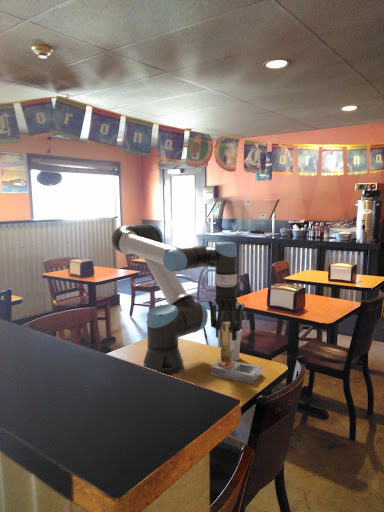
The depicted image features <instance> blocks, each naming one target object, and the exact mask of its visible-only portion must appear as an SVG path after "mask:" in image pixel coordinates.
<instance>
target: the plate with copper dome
mask: <svg viewBox="0 0 384 512" xmlns="http://www.w3.org/2000/svg"><path fill="white" fill-rule="evenodd" d="M210 375H212V376H215V377H220V378H224V379H228V380H232V381H236V382H241V383H246V384H250V385H253V384H254V383H255V381H257V380H258V378H259V377H261V375H262V366H260V365H256V364H250V363H244V362H239V361H231V362H222V361H221V358H220V359H219V360H218V361H217V362H215V363H214V364H213V365H211V366H210Z"/></svg>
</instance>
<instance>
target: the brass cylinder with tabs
mask: <svg viewBox="0 0 384 512" xmlns="http://www.w3.org/2000/svg"><path fill="white" fill-rule="evenodd" d="M230 332H231V325H230V320H229V321H222V322H221V347H220V359H221V361H222V362H231V361H232V350H230Z"/></svg>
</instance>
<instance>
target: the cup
mask: <svg viewBox="0 0 384 512" xmlns="http://www.w3.org/2000/svg"><path fill="white" fill-rule="evenodd" d="M241 337H242V329H241V330H240V331H237V339H236V340H235V348H233V349H232V361H236V360H237V361H238V360H239V359H240V349H241V347H240V346H241ZM237 361H236V362H237Z"/></svg>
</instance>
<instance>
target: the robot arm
mask: <svg viewBox="0 0 384 512" xmlns="http://www.w3.org/2000/svg"><path fill="white" fill-rule="evenodd" d="M111 244H112V246H113V247H114V249H115V250H116V251H117V252H119V253H121V254H125V255H131V254H132V255H134V256H137V257H138V258H139V259H141V260H144V261H145V263H146V265H147V267H148V269H149V271H150V273H151V274H152V276H153V278H154V280H155V281H156V284H157V285H158V287H159V289H160V291H161V292H162V294H163V297H164V298H165V300H166V301H167V303H168V304H161V305H156V306H153V307H152V308H150V309H149V310H148V312H147V316H146V327H147V328H146V331H147V350H146V353H145V356H144V360H143V368H144V367H147V368H150V369H153V370H156V371H158V372H161V373H164V374H167V375H166V376H171V375H174V374H177V373H178V372H181V371H183V368H184V361H183V357H182V354H181V352H180V348H179V338H180V337H184V336H186V335H190V334H193V333H194V334H195V333H197V332H198V331H202V330H203V329H204V328H205V327H206V325H207V323H208V318H209V316H210V327H211V328H214V329H215V337H216V338H217V347H218V348H220V349H221V322H223V319H224V314H225V311H226V313H227V314H228V319H229V321H230V325H231V332H230V350H232V349H233V348H235V340H236V339H237V331H240V330H241V331H242V330H243V313H244V312H243V311H244V307H245V303H243V302H242V303H241V302H239V300H238V299H237V296H238V295H237V294H238V292H237V291H238V289H237V284H238V282H237V281H238V280H237V279H238V277H237V261H238V253H237V244H236V243H235V242H233V241H218V242H216V243H215V246H209V245H201V244H200V245H194V246H193V247H187V248H185V247H184V248H180V247H177V246H174V245H170V244H167V243H164V238H163V232H162V230H161V229H160V228H159V226H157V225H156V224H152V223H142V224H123V225H121V226H119V227H117V228H116V229H115V230H114V232H113V233H112V236H111ZM204 267H209V268H215V299H211V300H209V301H208V305H209V310H210V315H209V314H208V309H207V307H206V305H205V304H204V303H203V302H201V301H198V300H195V298H194V297H193V295H192V294H190V293H187V292H186V290H185V288H184V287H183V285H182V283H181V281H180V279H179V277H178V276H177V274H176V273H175V272H181V271H186V270H191V269H197V268H204ZM217 306H218V309H217ZM235 307H236V315H235ZM208 315H209V316H208Z"/></svg>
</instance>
